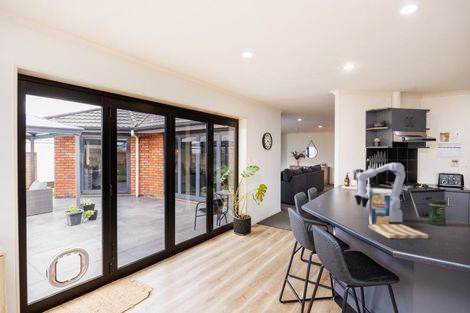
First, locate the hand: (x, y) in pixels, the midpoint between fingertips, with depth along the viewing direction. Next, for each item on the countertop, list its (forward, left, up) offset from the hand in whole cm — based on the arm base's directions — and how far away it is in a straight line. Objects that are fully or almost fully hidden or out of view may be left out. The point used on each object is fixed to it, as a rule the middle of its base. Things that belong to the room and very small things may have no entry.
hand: (361, 205), depth 186 cm
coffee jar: (-48, +14, -11) cm, 51 cm away
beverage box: (-5, +14, -10) cm, 18 cm away
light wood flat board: (-5, +31, -10) cm, 33 cm away
